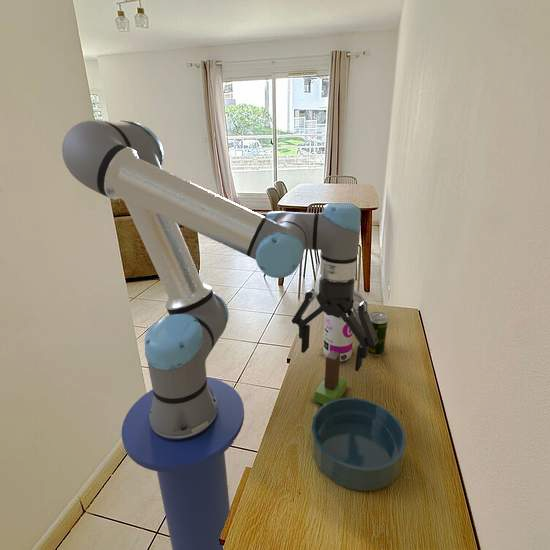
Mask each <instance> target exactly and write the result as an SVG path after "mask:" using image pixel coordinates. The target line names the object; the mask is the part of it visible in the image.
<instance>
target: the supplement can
mask: <svg viewBox="0 0 550 550" xmlns="http://www.w3.org/2000/svg"><path fill="white" fill-rule="evenodd" d="M351 310H352V311H353V309H351ZM353 313H354V312H353ZM346 315H347V313H346ZM354 316H355V314H354ZM323 327H324V329H323V347H322V348H323V351H322V352H323V353H322V354H323V355H324V356H325V357H326V356H327V355H328V354H329V352H330V351H331V350H332V351H335V352H338V353H340V363H341V362H345V361H347V360H348V359H350V358H351V357H352V354H353V342H354V334H353V332H352V331H351V329H350V328H349V326H348V325H347V323H346V322H344V321H343V319H342V318H341V317H340V318H337V317H334V316H332V315H326V313H325V312H324V326H323Z"/></svg>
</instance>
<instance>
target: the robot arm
mask: <svg viewBox="0 0 550 550" xmlns="http://www.w3.org/2000/svg"><path fill="white" fill-rule="evenodd" d="M163 149H164V148H163V146H162V143H161V141H160V139H159V137H158V136H157V135H156V134H155V132H154V131H153V130H151V129H150V128H149V127H147V126H145V125H143V124H141V123H138V122H134V121H132V120H131V121H130V120H118V121H117V120H92V119H91V120H90V119H89V120H85V121H80V122H78V123H76V124H75V125H73V126H72V127H70V129H69V130H68V131H67V132H66V134H65V135H64V138H63V142H62V144H61V153H62V159H63V162H64V165H65V167H66V168H67V170H68V171H69V173H70V174H71V176H73V178H75V180H77V181H78V182H79V183H81V184H82V185H83V186H85V187H87V188H88V189H90V190H92V191H94V192H96V193H98V194H100V195H102V196H104V197H106V198H108V199H111V200H115V201H116V200H119V199H120V200H122V201H123V203H124V204H125V206H126V209H127V210H128V212H129V215H130V217H131V219H132V221H133V223H134V226H135V228H136V230H137V232H138V234H139V237H140V238H141V240H142V243H143V246H144V247H145V249H146V252H147V254H148V256H149V259H150V260H151V262H152V264H153V268H154V270H155V271H156V274H157V276H158V277H159V279H160V282H161V285H162V286H163V288H164V291H165V293H166V295H167V297H168V299H167V300H166V303H165V309H166V311H167V313H168V315H167V316H165V318H159V319H158V320H156V321H155V322H154V323H152V325H151V326H150V327H149V328H148V329H147V331H146V333H145V335H144V355H145V358H146V362H147V366H148V371H149V372H148V373H149V376H150V377H149V378H150V383H151V388H152V389H153V394H154V395H153V400H152V406H151V409H150V413H149V421H150V426H151V429H152V431H153V433H154V434H155V435H156V436H158V437H159V438H161V439H163V440H167V441H174V442H178V441H186V440H190V439H193V438H195V437H197V436H199V435H201V434H203V433H204V432H206V431H207V430H208V429H209V428H210V427H211V426H212V425H213V424H214V422H215V421H216V418H217V416H218V403H217V400H216V397H215V395H214V394H213V392H212V390H211V388H210V386H209V384H208V383H207V377H208V376H207V367H206V362H207V359H208V357H209V355H210V353H211V352H212V351H213V349H214V347H215V346H216V343H217V342H218V341H219V339H220V338H221V336H222V335H223V334H224V332H225V330H226V328H227V324H228V322H229V313H230V312H229V308H228V306H227V302H226V301H225V300H224V298H223V297H221V295H218V294H217V293H215V292H214V291H213V289H212V287H211V286H210V285H208V284H206V283H203V282H202V278H201V276H200V274H199V271H198V269H197V267H196V264H195V262H194V259H193V258H192V255H191V253H190V250H189V247H188V246H187V243H186V241H185V238H184V236H183V233H182V231H181V229H180V227H179V225H181V226H182V227H185V228H187V229H189V230H191V231H193V232H195V233H198V234H200V235H202V236H204V237H206V238H208V239H210V240H213V241H215V242H217V243H219V244H221V245H223V246H226V247H227V248H230V249H232V250H234V251H236V252H239V253H240V254H243V255H245V256H246V257H249V258H251V259H252V260H255V262H256V264H257V267H258V268H259V269H260V271H261V272H262V273H263V274H265V275H266V276H267V277H270V278H273V279H274V278H275V279H283V278H286V277H287V278H288V277H289V276H291V275H293V274H294V273H295V271H296V270H297V269H298V267H299V266H300V265H301V263H302V261H303V259H304V253H305V250H313V251H317V250H318V251H320V264H319V265H320V267H319V275H320V276H319V280H318V281H319V282H318V292H317V291H315V288H310V289H308V290H307V291H306V292H305V293H304V298H303V299H304V300H303V301H302V303H301V305H300V306H299V307H298V310H297V311H296V313H295V314H294V315H293V317H292V319H291V323H292V324H293V325H297V326H298V338H299V339H301V346H300V347H301V349H300V352H301V353H302V354H305V353H306V352H307V350H308V349H309V348H310V334H311V333H310V332H311V325H310V324H309V323H310V322H311V321H313V320H314V319H315V318H316V317H318V316H319V315H320V314H321V313H323V312H324V314H325V313H326V315H332V316H334V317H337V318H340V317H341V318H342V319H343V321H344V322H346V323H347V325H348V326H349V328H350V329H351V331H352V332H353V336H354V337H355V338H356V340H357V342H358V344H357V347H356V354H355V355H356V356H355V364H354V371H355V372H359V371H360V369H361V367H362V366H363V360H365V359H366V358H367V356H368V355H369V354H368V347H369V346H371V347H375V345H376V344H377V342H378V338H377V335H376V333H375V330H374V327H373V325H372V322H371V319H370V317H369V315H370V313H369V312H368V302H367V301H366V300H364V301H363V302H362V303H359V302H354V300H353V293H354V290H355V282H356V279H355V278H356V272H357V263H358V262H357V261H358V251H359V242H360V234H361V219H362V217H361V216H362V211H361V209H360V207H359V206H357V205H355V204H353V203H348V202H331V203H327V204H325V205H324V206H323V209H322V212H318V213H313V212H297V211H296V212H295V211H294V212H293V211H285V210H281V211H269V212H268V213H266V215H265V216H264V215H262V214H259V213H257V212H254V211H252V210H250V209H249V208H246V207H244V206H241V205H239V204H238V203H236V202H233V201H231V200H229V199H227V198H225V197H222V196H220V195H219V194H216V193H214V192H212V191H211V190H208V189H205V188H203V187H201V186H199V185H197V184H195V183H193V182H191V181H188V180H187V179H184V178H182V177H180V176H178V175H175V174H173V173H171V172H170V171H167V170H165V169H164V168H162V166H163V161H164V159H165V158H164V157H165V155H164V150H163ZM315 299H316V301H317V303H318V304H319V306H318V307H317V308H315V309H314V310H313V311H312V312H311V313H309V314H308V315H307V316H306V317H305V318H302V317H303V316H304V314H305V313H306V311H307V310H308V308H309V306H310V305H311V303H312V302H314V300H315ZM352 308H355V309H356V313H358V315H359V319H360V321H361V324H362V325H361V326H360V324H359V322H358V321H357V319H356V318H355V316H354V313H353V311H352V310H351V309H352ZM346 313H347V315H346Z"/></svg>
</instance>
